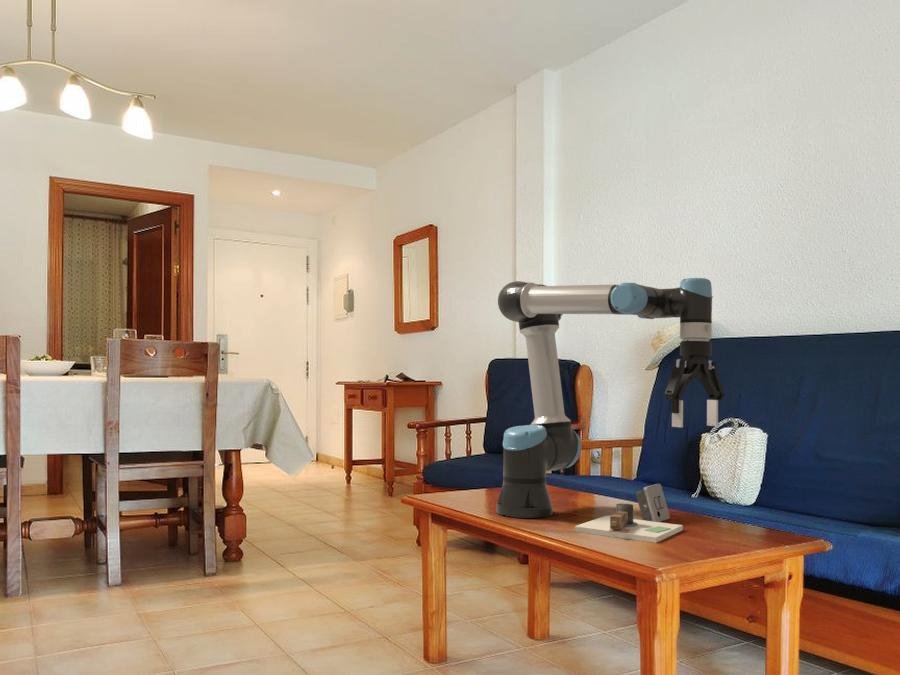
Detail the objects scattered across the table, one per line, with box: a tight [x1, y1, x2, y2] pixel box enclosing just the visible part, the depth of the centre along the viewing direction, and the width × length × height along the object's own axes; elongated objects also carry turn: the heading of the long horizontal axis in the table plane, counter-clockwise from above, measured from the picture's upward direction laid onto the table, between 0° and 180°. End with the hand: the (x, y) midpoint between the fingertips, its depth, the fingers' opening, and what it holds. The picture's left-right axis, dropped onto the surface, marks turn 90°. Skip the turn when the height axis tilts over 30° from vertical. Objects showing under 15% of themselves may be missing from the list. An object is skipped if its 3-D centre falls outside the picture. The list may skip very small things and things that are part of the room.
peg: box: [609, 502, 634, 530], centre depth 176 cm, size 14×4×4 cm, turn 154°
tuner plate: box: [574, 515, 684, 544], centre depth 178 cm, size 20×18×2 cm
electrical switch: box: [635, 483, 671, 523], centre depth 193 cm, size 9×5×9 cm, turn 141°
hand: (695, 426), depth 182 cm, fingers open, 13 cm apart
